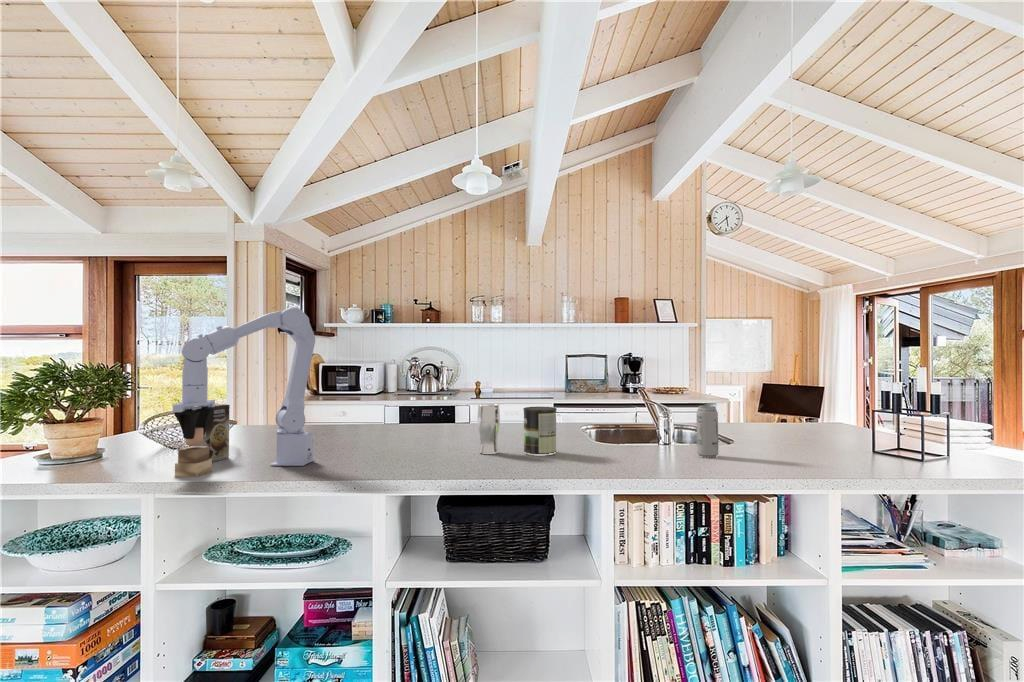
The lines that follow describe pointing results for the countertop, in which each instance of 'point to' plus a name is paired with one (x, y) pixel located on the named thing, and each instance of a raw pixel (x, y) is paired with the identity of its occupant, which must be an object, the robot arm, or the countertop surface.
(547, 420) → the coffee can
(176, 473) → the oak slab
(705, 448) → the energy drink can
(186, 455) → the walnut slab
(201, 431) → the light brown wooden cube
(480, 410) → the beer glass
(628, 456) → the countertop surface
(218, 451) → the coffee box
